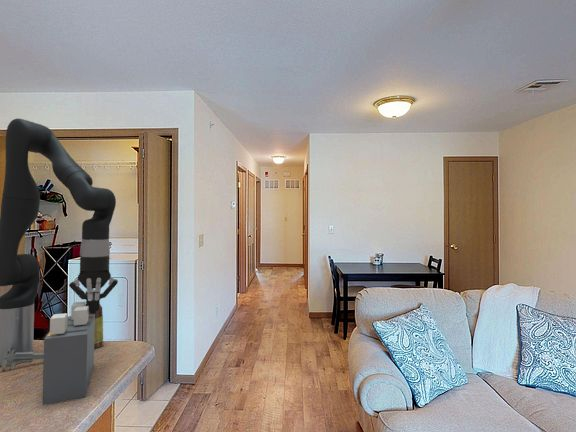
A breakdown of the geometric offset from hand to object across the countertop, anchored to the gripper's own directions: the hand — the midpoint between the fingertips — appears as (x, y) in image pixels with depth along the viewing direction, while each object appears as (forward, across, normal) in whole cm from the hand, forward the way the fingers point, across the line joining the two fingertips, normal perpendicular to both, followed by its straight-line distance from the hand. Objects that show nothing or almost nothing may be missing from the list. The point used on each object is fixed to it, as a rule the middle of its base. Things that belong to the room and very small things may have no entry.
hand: (93, 312), depth 98 cm
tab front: (+1, +7, +12) cm, 14 cm away
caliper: (+18, +14, -12) cm, 25 cm away
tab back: (+1, +4, 0) cm, 4 cm away
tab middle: (+1, +2, +6) cm, 7 cm away
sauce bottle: (+18, +2, -21) cm, 27 cm away
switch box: (+17, +4, +6) cm, 19 cm away
